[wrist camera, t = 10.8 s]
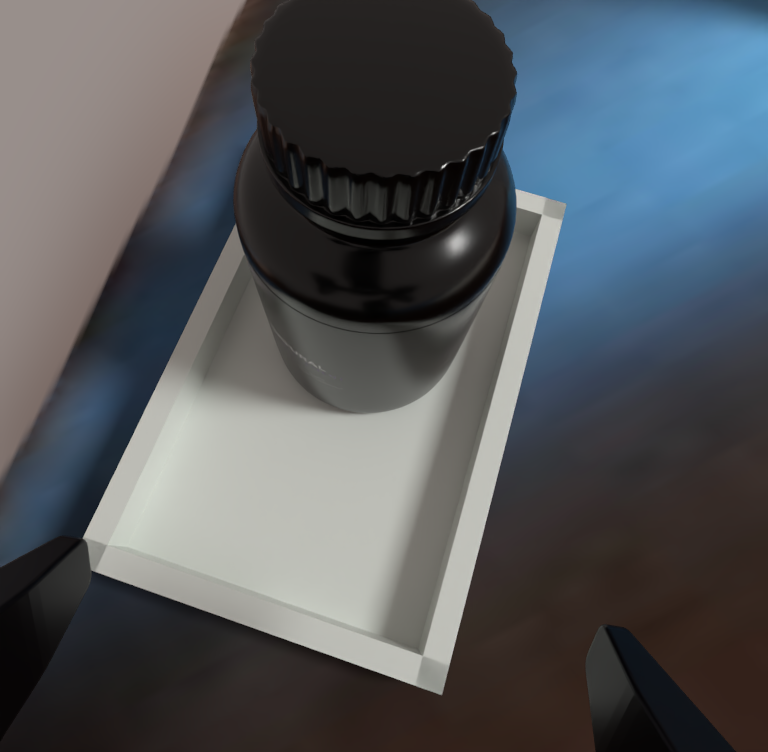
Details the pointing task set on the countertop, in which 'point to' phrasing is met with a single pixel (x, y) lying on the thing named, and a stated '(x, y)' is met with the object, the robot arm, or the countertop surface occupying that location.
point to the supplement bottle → (376, 189)
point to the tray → (322, 477)
